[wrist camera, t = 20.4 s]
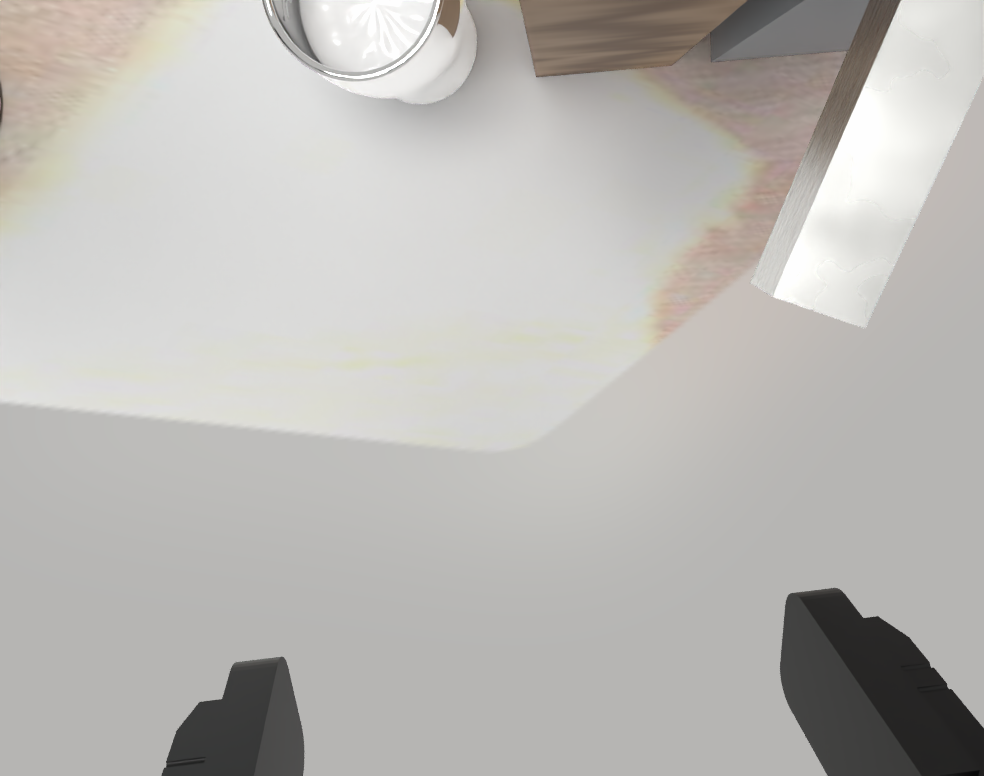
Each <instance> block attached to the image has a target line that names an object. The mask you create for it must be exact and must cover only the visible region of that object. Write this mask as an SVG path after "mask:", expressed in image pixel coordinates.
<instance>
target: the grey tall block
mask: <svg viewBox="0 0 984 776" xmlns="http://www.w3.org/2000/svg"><path fill="white" fill-rule="evenodd" d="M868 3H869V0H747V1H746V2H745V3H744V4H743V5H742V6H740V7H739V8H738V9H737V10H736V11H735V12H733V13H732V14H731V15H730V16H729V17H728V18H726V19H725V20H724V21H723V22H722V23H721V24H719V25H718V26H717V27H716V28H715V29H714V30H712V31H711V62H719V61H731V60H742V59H754V58H766V57H777V56H789V55H801V54H812V53H824V52H836V51H847V50H849V48H850V45H851V43H852V41H853V38H854V36H855V34H856V31H857V29H858V26H859V24H860V22H861V19H862V17H863V15H864V12H865V10H866V7H867V5H868Z"/></svg>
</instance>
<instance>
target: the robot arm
mask: <svg viewBox="0 0 984 776" xmlns="http://www.w3.org/2000/svg"><path fill="white" fill-rule="evenodd" d="M0 109H1V99H0ZM780 674H781V682H782V686H783V690H784V694H785V697H786V700H787V702H788V705H789V707H790V709H791V711H792V713H793V714H794V716H795V718H796V720H797V721H798V723H799V725H800V727H801V729H802V730H803V732H804V734H805V736H806V738H807V739H808V741H809V743H810V745H811V747H812V748H813V750H814V752H815V754H816V756H817V757H818V759H819V761H820V763H821V764H822V766H823V768H824V770H825V772H826V773H827V775H828V776H984V728H983V727H982V726H981V725H980V723H979V722H978V721H977V720H976V719H975V717H974V716H973V715H972V714H971V712H970V711H969V710H968V709H967V707H966V706H965V705H964V704H963V703H962V701H961V700H960V699H959V698H958V697H957V695H956V694H955V693H954V692H953V690H951V689H948V687H947V683H946V682H945V681H944V680H943V678H942V677H941V676H940V675H939V673H938V672H937V671H936V670H935V669H934V668H931V667H930V663H929V661H928V660H927V659H926V657H925V656H924V655H923V654H922V653H921V651H920V650H919V649H918V648H917V647H916V645H915V644H914V643H913V642H912V640H911V639H910V638H909V637H908V636H906V635H905V634H903V633H902V632H900V631H899V630H897V629H896V628H894V627H893V626H891V625H890V624H888V623H887V622H885V621H884V620H882V619H881V618H879V617H878V616H877V617H870V618H863V617H862V616H861V615H860V613H859V612H858V611H857V609H856V608H855V607H854V606H853V604H852V603H851V602H850V600H849V599H848V598H847V596H846V595H845V594H844V593H843V592H842V591H841V590H840V589H838V588H831V589H822V590H814V591H806V592H797V593H791V594H789V595H788V597H787V600H786V605H785V617H784V628H783V639H782V650H781V662H780ZM166 763H167V766H166V768H164V770H163V773H162V776H303V770H304V739H303V732H302V726H301V722H300V717H299V713H298V709H297V704H296V700H295V696H294V691H293V687H292V683H291V678H290V674H289V669H288V666H287V662H286V660H285V659H284V657H276V658H268V659H260V660H252V661H244V662H236V663H234V664H233V666H232V668H231V671H230V674H229V677H228V681H227V685H226V688H225V692H224V695H223V698H222V699H221V700H212V701H204V702H200V703H199V704H198V705H197V706H196V707H195V709H194V710H193V711H192V712H191V714H190V715H189V716H188V717H187V719H186V720H185V721H184V722H183V723H182V725H181V726H180V727H179V729H178V730H177V731H176V734H175V737H174V740H173V743H172V746H171V749H170V752H169V755H168V758H167V761H166Z"/></svg>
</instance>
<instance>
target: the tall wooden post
mask: <svg viewBox="0 0 984 776" xmlns="http://www.w3.org/2000/svg"><path fill="white" fill-rule="evenodd" d="M519 1H520V5H521V10H522V14H523V19H524V24H525V28H526V33H527V37H528V42H529V46H530V51H531V55H532V60H533V65H534V69H535V74H536V77H544V76H556V75H567V74H579V73H591V72H602V71H614V70H626V69H637V68H649V67H661V66H672V65H673V64H674V63H675V62H676V61H678V60H679V59H680V58H681V57H682V56H683V55H685V54H686V53H687V52H688V51H689V50H690V49H692V48H693V47H694V46H695V45H696V44H697V43H698V42H700V41H701V40H702V39H703V38H704V37H705V36H707V35H708V34H709V33H710V32H711V31H712V30H714V29H715V28H716V27H717V26H718V25H719V24H721V23H722V22H723V21H724V20H725V19H726V18H728V17H729V16H730V15H731V14H732V13H733V12H735V11H736V10H737V9H738V8H739V7H740V6H742V5H743V4H744V3H745V2H746V1H747V0H519Z"/></svg>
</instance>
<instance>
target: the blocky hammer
mask: <svg viewBox="0 0 984 776" xmlns="http://www.w3.org/2000/svg"><path fill="white" fill-rule="evenodd" d="M983 77H984V0H869V3H868V5H867V7H866V10H865V12H864V15H863V17H862V19H861V22H860V24H859V26H858V29H857V31H856V34H855V36H854V38H853V41H852V43H851V45H850V48H849V50H848V52H847V55H846V57H845V60H844V62H843V64H842V67H841V69H840V71H839V74H838V76H837V78H836V81H835V83H834V86H833V88H832V90H831V93H830V95H829V97H828V100H827V102H826V105H825V107H824V109H823V112H822V114H821V116H820V119H819V121H818V123H817V126H816V128H815V131H814V133H813V135H812V138H811V140H810V142H809V145H808V147H807V150H806V152H805V154H804V157H803V159H802V161H801V164H800V166H799V168H798V171H797V173H796V176H795V178H794V180H793V183H792V185H791V187H790V190H789V192H788V194H787V197H786V199H785V202H784V204H783V206H782V209H781V211H780V213H779V216H778V218H777V221H776V223H775V225H774V228H773V230H772V232H771V235H770V237H769V239H768V242H767V244H766V247H765V249H764V251H763V254H762V256H761V258H760V261H759V263H758V265H757V268H756V270H755V273H754V275H753V277H752V280H751V282H750V284H752V285H754V286H755V287H757V288H759V289H760V290H762V291H764V292H765V293H767V294H769V295H770V296H772V297H774V298H777V299H780V300H783V301H786V302H789V303H792V304H795V305H798V306H801V307H804V308H807V309H810V310H812V311H815V312H818V313H821V314H824V315H827V316H830V317H833V318H836V319H838V320H842V321H844V322H847V323H850V324H853V325H856V326H859V327H862V328H866V326H867V323H868V321H869V319H870V317H871V315H872V313H873V311H874V309H875V306H876V304H877V302H878V300H879V298H880V296H881V294H882V292H883V289H884V287H885V285H886V283H887V281H888V279H889V277H890V274H891V273H892V270H893V268H894V266H895V264H896V262H897V260H898V258H899V256H900V253H901V251H902V249H903V247H904V245H905V243H906V241H907V238H908V236H909V234H910V232H911V230H912V228H913V226H914V224H915V222H916V219H917V217H918V215H919V213H920V211H921V209H922V207H923V205H924V202H925V200H926V198H927V196H928V194H929V192H930V190H931V188H932V185H933V183H934V181H935V179H936V177H937V175H938V173H939V170H940V168H941V166H942V164H943V162H944V160H945V158H946V155H947V154H948V151H949V149H950V147H951V145H952V143H953V141H954V139H955V137H956V134H957V132H958V130H959V128H960V126H961V124H962V122H963V120H964V117H965V115H966V113H967V111H968V109H969V107H970V105H971V103H972V100H973V98H974V96H975V94H976V92H977V90H978V88H979V86H980V84H981V81H982V79H983Z"/></svg>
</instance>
